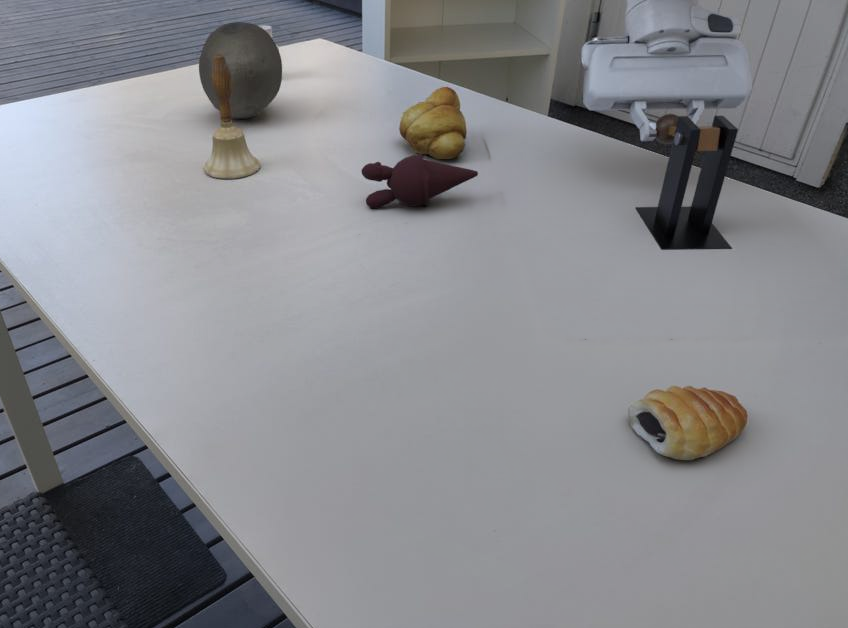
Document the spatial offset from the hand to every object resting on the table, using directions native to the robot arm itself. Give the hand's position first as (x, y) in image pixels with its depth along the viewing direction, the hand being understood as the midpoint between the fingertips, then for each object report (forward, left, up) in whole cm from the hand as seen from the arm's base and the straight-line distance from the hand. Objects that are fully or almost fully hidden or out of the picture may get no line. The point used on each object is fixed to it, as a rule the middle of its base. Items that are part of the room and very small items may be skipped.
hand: (668, 139), depth 93 cm
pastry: (+11, +45, -8) cm, 47 cm away
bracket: (0, +10, -8) cm, 13 cm away
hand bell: (+58, -13, -8) cm, 60 cm away
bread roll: (+28, -19, -8) cm, 35 cm away
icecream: (+31, 0, -8) cm, 32 cm away
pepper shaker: (+58, -57, -8) cm, 82 cm away
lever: (0, +5, +1) cm, 5 cm away
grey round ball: (+59, -35, -8) cm, 69 cm away
